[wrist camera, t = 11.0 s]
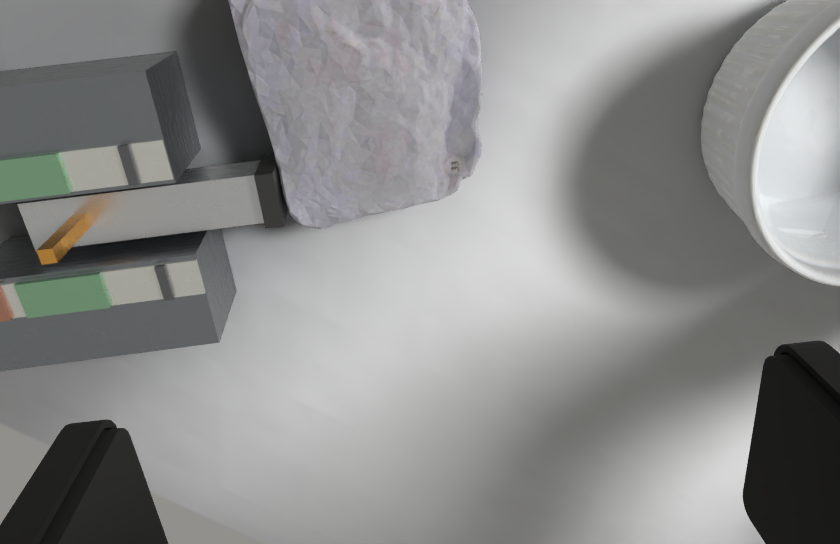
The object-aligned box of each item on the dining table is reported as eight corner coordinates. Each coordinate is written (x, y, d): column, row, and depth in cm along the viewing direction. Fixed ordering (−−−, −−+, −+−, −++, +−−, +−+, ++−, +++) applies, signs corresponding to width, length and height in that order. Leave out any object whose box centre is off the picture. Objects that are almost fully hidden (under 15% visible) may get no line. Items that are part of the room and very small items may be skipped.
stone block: (433, -87, 30) (209, -37, 28) (471, -92, 26) (213, -34, 24) (473, 163, 36) (289, 217, 34) (510, 192, 31) (303, 255, 30)
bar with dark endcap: (279, 153, 31) (264, 199, 25) (289, 202, 32) (276, 256, 26) (42, 182, 31) (-27, 235, 25) (59, 230, 32) (-3, 292, 26)
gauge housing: (176, 51, 30) (142, 72, 25) (236, 291, 35) (217, 346, 30) (-56, 77, 29) (-136, 104, 24) (41, 316, 35) (-9, 376, 30)
